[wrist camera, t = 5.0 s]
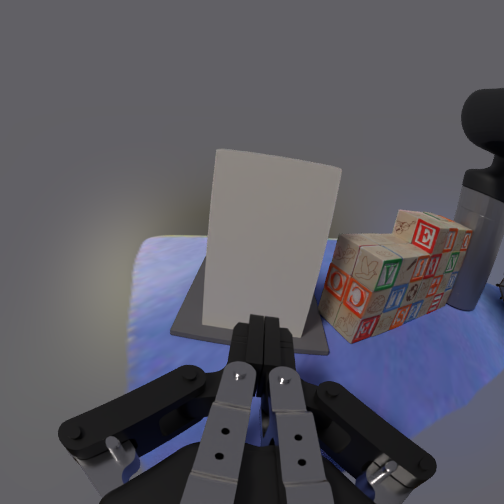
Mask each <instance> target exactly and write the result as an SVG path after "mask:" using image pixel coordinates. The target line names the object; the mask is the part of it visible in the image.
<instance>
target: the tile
mask: <svg viewBox="0 0 504 504" xmlns="http://www.w3.org/2000/svg"><path fill="white" fill-rule="evenodd" d="M341 173H342V169H340V168H338V167H335V166H330V165H325V164H320V163H315V162H309V161H304V160H298V159H293V158H287V157H281V156H274V155H267V154H261V153H253V152H246V151H237V150H228V149H217V150H216V159H215V167H214V177H213V187H212V196H211V206H210V216H209V229H208V240H207V252H206V266H205V281H204V297H203V316H202V324H203V325H208V326H215V327H221V328H227V329H233V328H234V327H235V326H236V324H237V323H238V322H242V323H249V317H250V314H255V315H262V316H264V317H265V316H270V317H278V318H279V325H280V327H281V328H288V329H289V331H290V332H291V334H292V336H293V337H298V338H301V335H302V332H303V329H304V325H305V322H306V319H307V315H308V312H309V308H310V305H311V301H312V297H313V294H314V290H315V286H316V283H317V279H318V275H319V271H320V267H321V263H322V259H323V255H324V251H325V247H326V243H327V239H328V235H329V230H330V226H331V221H332V217H333V212H334V208H335V203H336V198H337V193H338V188H339V183H340V178H341Z"/></svg>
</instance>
